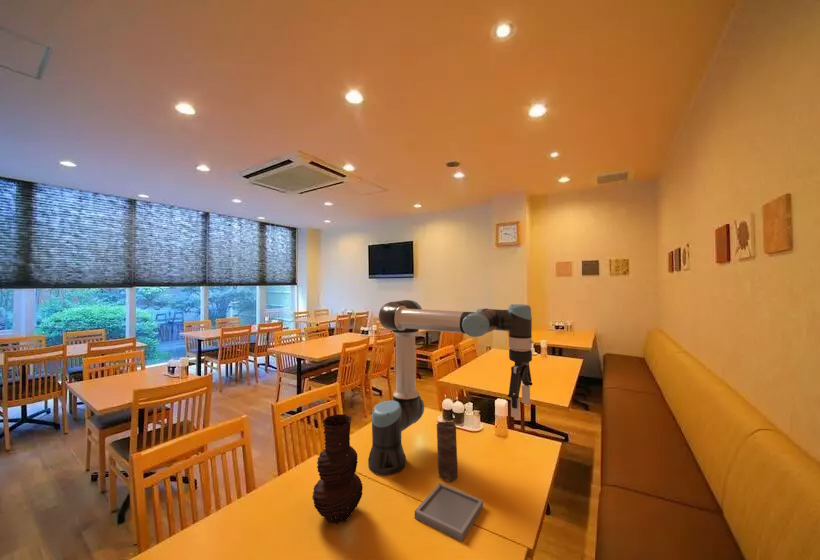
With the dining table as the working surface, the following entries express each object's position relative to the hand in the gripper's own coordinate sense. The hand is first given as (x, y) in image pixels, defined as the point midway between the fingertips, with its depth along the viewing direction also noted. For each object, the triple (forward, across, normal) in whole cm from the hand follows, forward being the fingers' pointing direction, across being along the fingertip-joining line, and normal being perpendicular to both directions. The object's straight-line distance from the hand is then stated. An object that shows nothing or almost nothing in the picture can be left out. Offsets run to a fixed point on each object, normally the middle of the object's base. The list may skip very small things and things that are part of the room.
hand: (521, 409), depth 110 cm
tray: (+28, -23, +16) cm, 40 cm away
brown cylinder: (+28, -7, +25) cm, 39 cm away
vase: (+28, -43, +45) cm, 69 cm away
